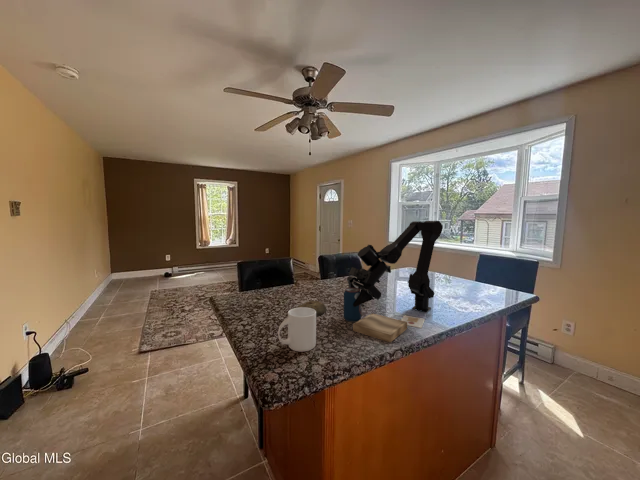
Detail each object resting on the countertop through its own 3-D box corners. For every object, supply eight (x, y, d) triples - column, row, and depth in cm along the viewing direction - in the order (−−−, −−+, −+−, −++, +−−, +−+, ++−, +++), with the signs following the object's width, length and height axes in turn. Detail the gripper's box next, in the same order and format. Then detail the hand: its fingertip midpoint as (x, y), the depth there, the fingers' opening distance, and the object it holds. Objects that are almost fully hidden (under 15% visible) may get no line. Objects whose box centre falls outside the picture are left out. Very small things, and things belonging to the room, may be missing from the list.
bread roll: (314, 319, 102) (314, 307, 102) (291, 313, 110) (291, 301, 110) (332, 310, 113) (332, 299, 112) (310, 305, 120) (310, 294, 120)
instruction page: (404, 315, 106) (404, 315, 106) (425, 319, 102) (425, 318, 102) (398, 323, 98) (398, 323, 98) (421, 328, 94) (421, 327, 94)
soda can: (364, 321, 100) (364, 291, 99) (347, 323, 98) (347, 292, 97) (356, 315, 106) (357, 286, 105) (340, 317, 104) (341, 287, 104)
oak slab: (372, 319, 102) (372, 313, 102) (407, 328, 93) (407, 321, 93) (353, 330, 91) (353, 323, 91) (390, 342, 82) (390, 334, 82)
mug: (273, 344, 81) (273, 311, 80) (309, 337, 86) (309, 305, 85) (282, 357, 73) (282, 320, 72) (320, 348, 78) (321, 314, 78)
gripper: (350, 257, 111) (326, 284, 107) (374, 263, 93) (347, 296, 90) (366, 274, 114) (343, 301, 111) (392, 283, 96) (366, 316, 93)
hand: (349, 303), depth 101 cm, fingers closed on soda can, 7 cm apart
